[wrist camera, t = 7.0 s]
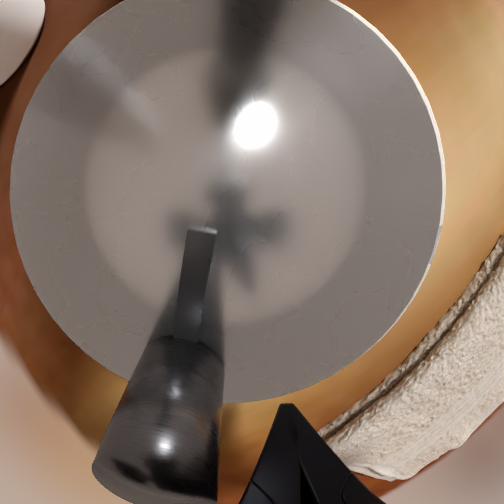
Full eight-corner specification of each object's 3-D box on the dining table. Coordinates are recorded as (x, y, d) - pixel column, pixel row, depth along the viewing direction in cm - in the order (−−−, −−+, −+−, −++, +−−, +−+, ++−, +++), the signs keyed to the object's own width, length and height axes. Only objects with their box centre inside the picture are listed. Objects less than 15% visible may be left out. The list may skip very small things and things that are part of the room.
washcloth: (297, 436, 15) (304, 474, 13) (497, 218, 12) (534, 229, 9) (390, 466, 18) (401, 491, 15) (535, 314, 14) (558, 330, 11)
